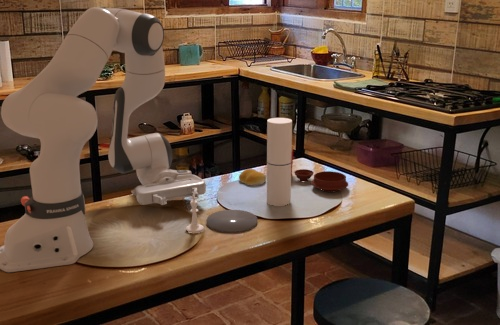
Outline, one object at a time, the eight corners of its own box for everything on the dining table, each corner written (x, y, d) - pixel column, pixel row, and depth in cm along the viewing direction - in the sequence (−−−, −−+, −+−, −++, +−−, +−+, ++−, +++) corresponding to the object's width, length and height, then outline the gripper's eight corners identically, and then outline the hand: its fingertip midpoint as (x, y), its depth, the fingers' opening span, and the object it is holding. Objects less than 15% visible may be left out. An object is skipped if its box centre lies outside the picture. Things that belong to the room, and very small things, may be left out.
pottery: (332, 198, 173) (332, 185, 171) (284, 182, 187) (284, 170, 185) (355, 189, 180) (356, 176, 179) (308, 174, 194) (308, 162, 193)
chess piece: (190, 225, 154) (189, 190, 151) (207, 227, 152) (206, 192, 149) (182, 232, 149) (180, 197, 146) (199, 235, 148) (198, 199, 145)
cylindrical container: (264, 204, 168) (264, 122, 160) (270, 196, 174) (270, 117, 166) (287, 207, 166) (289, 124, 158) (292, 198, 172) (294, 118, 165)
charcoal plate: (219, 236, 146) (219, 234, 146) (198, 217, 158) (198, 215, 158) (266, 226, 153) (266, 223, 152) (243, 208, 164) (243, 206, 164)
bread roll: (252, 188, 182) (252, 176, 181) (235, 181, 188) (235, 169, 187) (271, 182, 187) (271, 171, 186) (253, 175, 193) (253, 164, 192)
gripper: (128, 179, 163) (143, 194, 152) (194, 169, 172) (213, 182, 161) (130, 200, 165) (144, 216, 153) (195, 188, 174) (213, 203, 163)
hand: (180, 199), depth 157 cm, fingers open, 8 cm apart
